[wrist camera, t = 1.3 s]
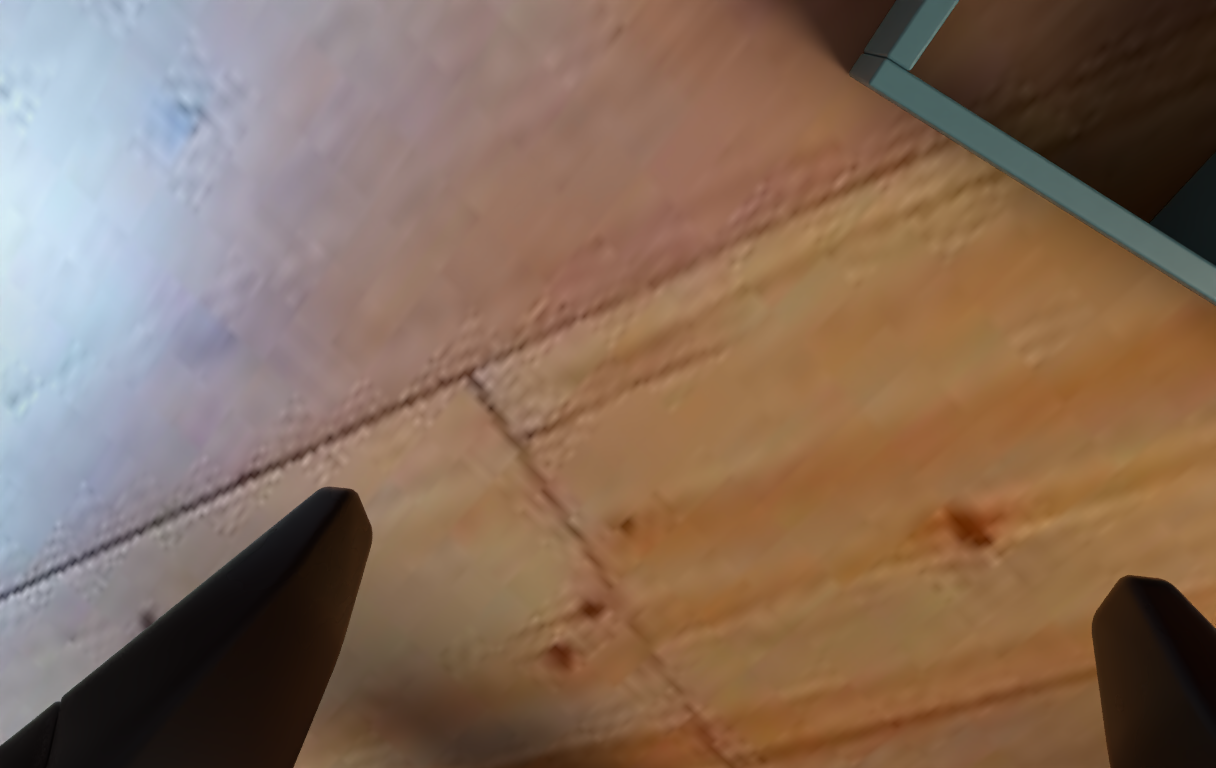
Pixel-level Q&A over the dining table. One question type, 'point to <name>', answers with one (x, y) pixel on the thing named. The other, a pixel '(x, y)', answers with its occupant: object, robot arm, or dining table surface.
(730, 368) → the dining table surface
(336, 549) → the robot arm
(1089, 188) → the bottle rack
